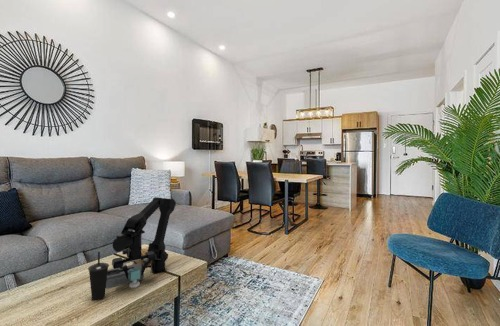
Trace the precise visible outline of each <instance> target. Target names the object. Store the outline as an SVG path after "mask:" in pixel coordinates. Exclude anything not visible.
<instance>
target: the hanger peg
mask: <svg viewBox="0 0 500 326" xmlns="http://www.w3.org/2000/svg"><path fill="white" fill-rule="evenodd" d="M129 278H130V280H131V281H132V280H133V282H131V283H128V284H129V288H130V289H131V288H132V289H134V288H138V287H140V285H141V283H140V280H139V281H137V279H140V269H139V268H138V267H137V268H132V269H129Z"/></svg>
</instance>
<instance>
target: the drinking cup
mask: <svg viewBox="0 0 500 326" xmlns="http://www.w3.org/2000/svg"><path fill="white" fill-rule="evenodd" d="M100 253H101V251H98V252H97V263H93V264H91V265H90V266H89V267H88V268H87V269H88V272H89V273H88V274H89V283H90V293H91V300H92V301H93V302H94V301H101V300H103V299H104V298H105V297H106V290H107V289H106V281H107V272H108V270H109V266H110V265H109V263H107V262H101V261H100V260H101V259H100V257H101V254H100Z"/></svg>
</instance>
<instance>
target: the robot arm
mask: <svg viewBox="0 0 500 326" xmlns="http://www.w3.org/2000/svg"><path fill="white" fill-rule="evenodd" d="M176 205H177V202H176V201H175V199H174V198H167V197H166V198H165V197H153V198H152V200H151V201H150V203H148V204H147V205H146V206H145V207H144V208H143V209H142V210H141V211H140V212H138V213H136V214H134V215H132V216H131V217H130V218H128V219H127V220H126V223H125V224H124V227H123V228H122V231H121V232H120V235H116V236H115V237H116V239H114V240H113V242H112V248H113V250H114V251H115V252H117V253H120V252H122V255H126V257H127V258H123V257H122V256H121V257H120V256H119V257H115V258H113V259H112V260H111V265H112V269H116V268H120V269H123V270H124V273H125V275H126V278H127V279H128V269H127V266H128V265H127V264H129V263H132V262H133V263H135V262H134V261H138V260H142V267H141V276H142V275H143V273H145V271H146V269H147V268H148V266H147V265H148V263H150V262H151V261H152V262H151V265H150V271H151V272H152V273H153V274H154V275H155V274H159V273H163V272H167V269H166V261H167V260H168V258H169V254H168V253H167V252H166V244H165V238H166V237H165V236H166V233H167V229H168V226H169V219H170V215H171V214H172V213H173V212H174V211H175V207H176ZM158 209H159V212H160V214H159V215H160V216H159V219H158V224H157V227H156V231H155V235H154V239H153V241H152V242H149V243H148V248H147V251H148V252H146V253H145V255H142V256H141V250H142V249H143V248H142V240H143V239H142V234H145V233H146V232H145V230H143V229H144V228H145V226H146V225H147V221H148V220H149V218H150V217H151V216H152V215H153V214H154V213H155V212H156V211H157V210H158Z"/></svg>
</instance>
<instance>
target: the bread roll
mask: <svg viewBox="0 0 500 326" xmlns="http://www.w3.org/2000/svg"><path fill="white" fill-rule="evenodd" d="M147 250H148V248H146V249H144V248H142V250H141V256H142V255H145V253H146V252H148V251H147ZM151 262H152V261H151ZM151 262H150V263H148V265H147V267H151ZM133 263H134V264H138V263H140V265H141V266H142V260H138V261H134V262H133Z"/></svg>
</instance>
